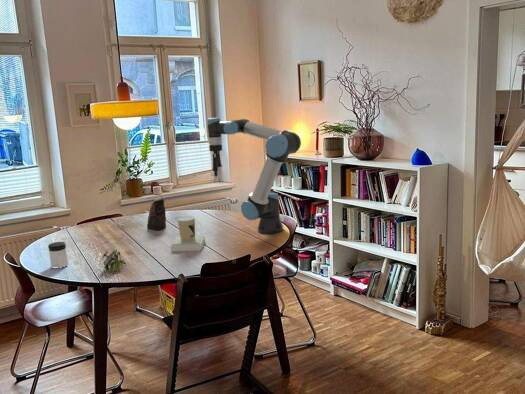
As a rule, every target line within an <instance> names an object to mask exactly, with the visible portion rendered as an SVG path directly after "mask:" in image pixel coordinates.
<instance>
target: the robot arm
mask: <svg viewBox="0 0 525 394" xmlns="http://www.w3.org/2000/svg"><path fill="white" fill-rule="evenodd" d="M207 131H208V132H207V133H208V139H207V141H208V144H209V146H208V147H209V152H213V153H211V154H212V169H211V171H213V181H214V182H215V183H216V182H220V178H221V179H222V177H223V175H222V167H223V165H222V160H221V154H220V153H221V151H223V145H222V143H223V141H222V140H223V139H222V135H235V134H240V133H241V134H244V135H248V136H252V137H255V138H258V139H260V140H263V141H264V140H265V141H266V142H265V156H266V157H267V158H266V160H265V162H264V165H263V168H262V170H261V172H260V174H259V178H258V180H257V182H256V185H255V187H254V190H253V191H252V192H250V193H249V195H248V197H247V199H246V200H244V201H243V202H242V203H241V205H240V211H241V213H242V215H243V217H244V218H245V219H246V220H248V221H255V220H257V219H259V220H258V225H257V232H258V233H260V234H265V235H268V234H269V235H270V234H271V235H272V234H278V233H281V232H283V230H284V227H283V223H282V221H281V218H280V201H279V200H280V199H279V194H278V193H276V192H271V190H272V187H273V185H274V183H275V181H276V179H277V176H278V173H279V171H280V169H281V166H282V164H284V163H286V162H287V159H288V157H289V155H291V154H295V153H297V152H298V151H299V149H300V148H301V146H302V139H301V138H300V136H299V135H298V134H297V133H295V132H294V131H293V132H292V131H289V130H279V129H276V128H273V127H268V126H264V125H262V124H258V123H255V122H251V121H250V120H249V119H246V118H242V119H233V120H223V121H221V118H220V117H209V118H207Z"/></svg>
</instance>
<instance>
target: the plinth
mask: <svg viewBox="0 0 525 394" xmlns="http://www.w3.org/2000/svg"><path fill="white" fill-rule="evenodd" d="M205 243H206V238H205V235H195V240H193V241H189V242H183V241H181V237H180V235H179V236H176V238H174V240H173V242H171V244H170V251H171V252H173V253H175V252H194V251H195V252H196V251H198V252H199V251H202V248H203V246H204V245H205Z"/></svg>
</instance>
